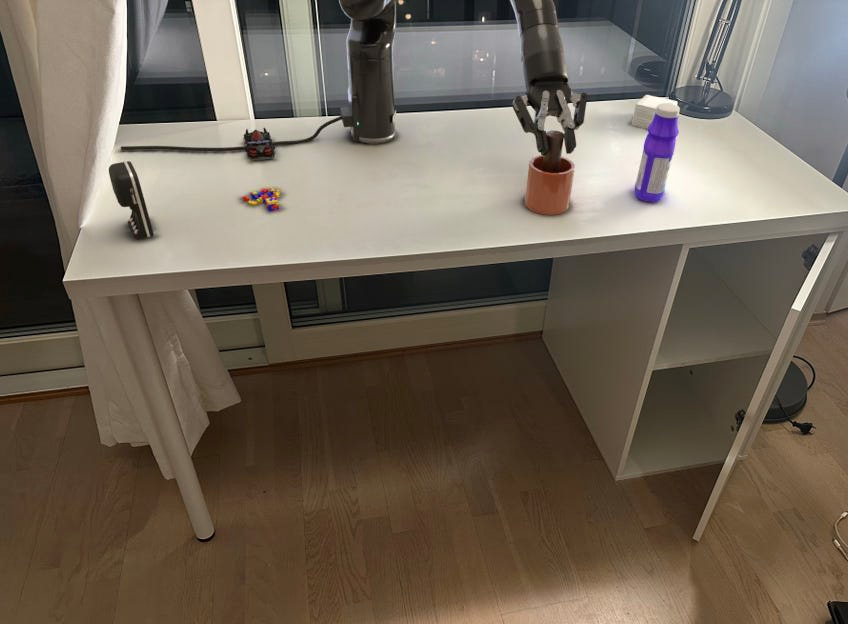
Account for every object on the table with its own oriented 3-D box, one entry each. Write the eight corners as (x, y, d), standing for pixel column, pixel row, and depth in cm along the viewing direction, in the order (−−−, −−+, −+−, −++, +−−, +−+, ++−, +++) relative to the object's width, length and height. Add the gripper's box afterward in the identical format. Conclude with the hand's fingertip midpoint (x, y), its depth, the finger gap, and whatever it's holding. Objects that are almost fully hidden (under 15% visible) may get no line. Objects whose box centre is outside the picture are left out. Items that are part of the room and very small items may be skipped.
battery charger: (123, 223, 120) (103, 160, 113) (146, 219, 122) (128, 156, 114) (131, 243, 116) (111, 178, 108) (155, 237, 117) (137, 174, 110)
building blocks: (274, 188, 132) (273, 180, 131) (290, 206, 127) (289, 198, 126) (240, 195, 129) (238, 187, 128) (255, 214, 124) (254, 206, 123)
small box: (641, 115, 169) (646, 93, 166) (673, 122, 166) (678, 101, 163) (630, 125, 164) (634, 103, 161) (663, 133, 161) (668, 111, 158)
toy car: (246, 162, 140) (243, 142, 137) (241, 138, 149) (238, 119, 146) (277, 159, 142) (275, 140, 139) (271, 135, 150) (268, 117, 147)
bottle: (663, 205, 134) (685, 115, 123) (632, 201, 134) (652, 111, 123) (662, 188, 139) (684, 101, 128) (633, 185, 140) (652, 97, 129)
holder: (533, 216, 128) (538, 176, 123) (519, 195, 134) (523, 156, 129) (575, 213, 130) (581, 172, 125) (559, 192, 136) (564, 153, 131)
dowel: (541, 205, 130) (549, 138, 122) (535, 197, 133) (543, 130, 124) (557, 204, 131) (566, 136, 123) (551, 196, 133) (560, 129, 125)
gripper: (510, 49, 119) (525, 147, 118) (588, 46, 123) (604, 142, 122) (499, 71, 127) (513, 163, 126) (572, 68, 130) (587, 158, 129)
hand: (557, 152), depth 124 cm, fingers open, 4 cm apart
